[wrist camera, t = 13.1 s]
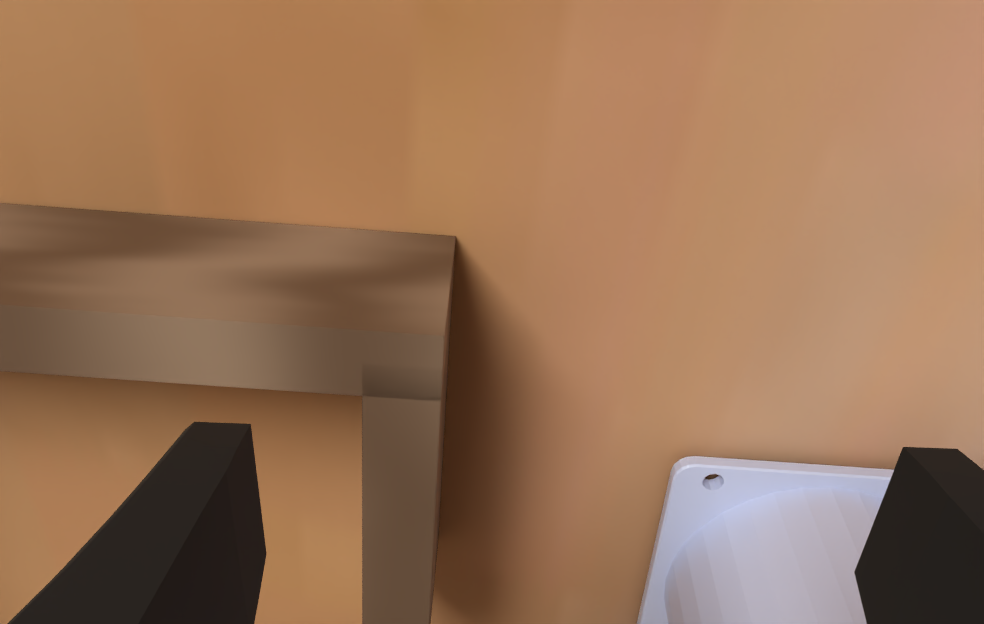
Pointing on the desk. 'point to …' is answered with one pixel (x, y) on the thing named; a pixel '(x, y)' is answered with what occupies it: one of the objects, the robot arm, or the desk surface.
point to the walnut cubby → (258, 341)
